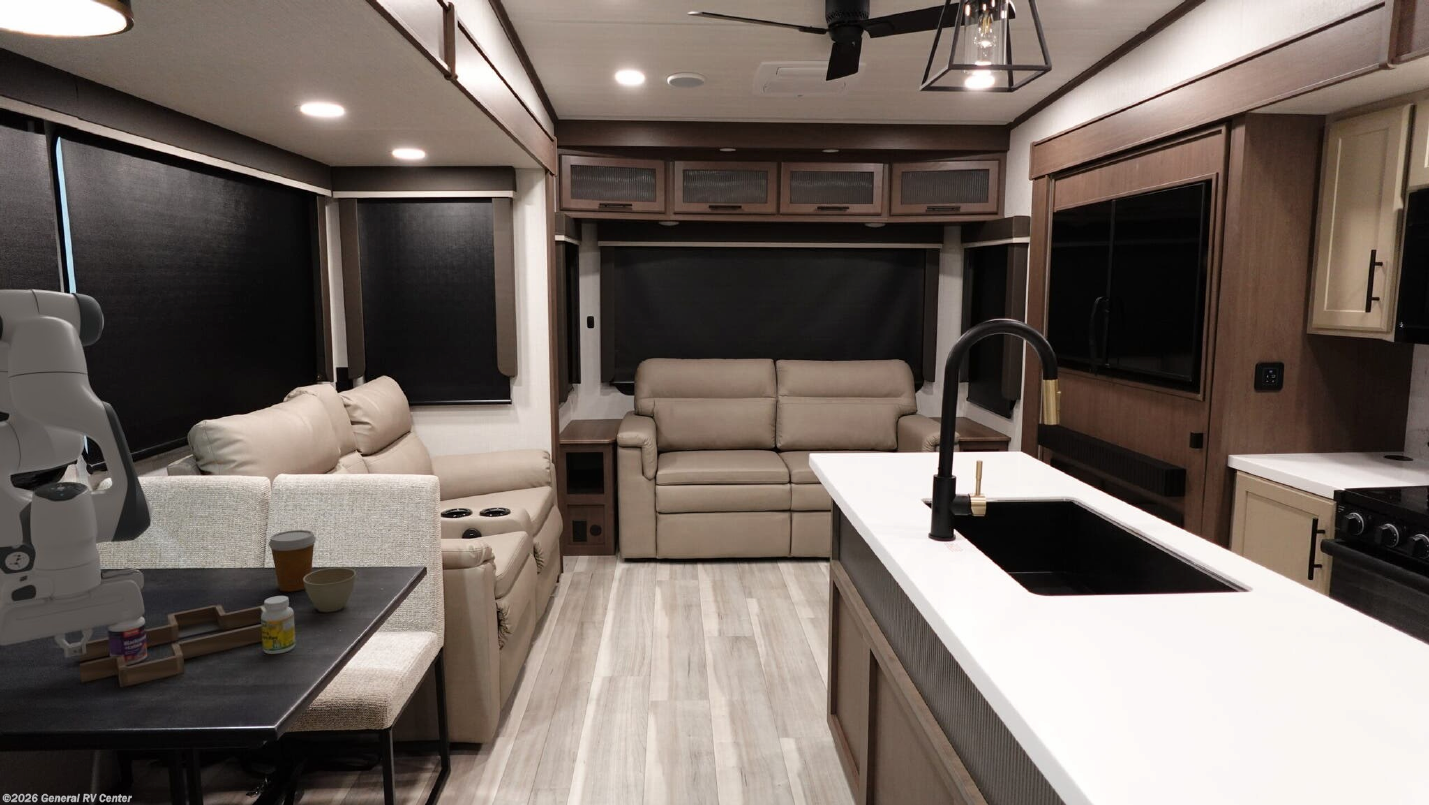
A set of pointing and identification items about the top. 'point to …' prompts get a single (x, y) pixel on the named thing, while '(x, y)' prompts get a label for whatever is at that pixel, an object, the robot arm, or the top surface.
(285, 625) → the supplement bottle
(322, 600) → the flower pot
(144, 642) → the pill bottle
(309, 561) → the disposable coffee cup
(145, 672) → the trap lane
